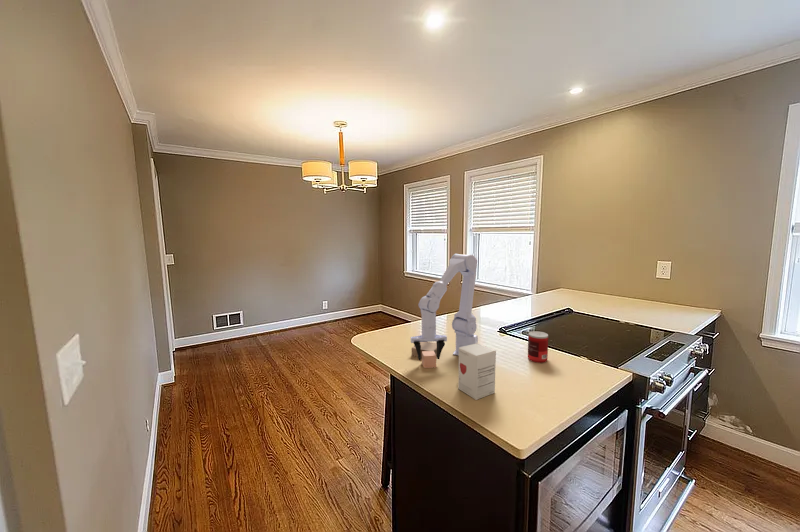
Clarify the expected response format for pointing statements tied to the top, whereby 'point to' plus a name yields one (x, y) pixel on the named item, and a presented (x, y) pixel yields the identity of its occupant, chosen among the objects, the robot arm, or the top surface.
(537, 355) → the canned food
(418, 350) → the robot arm
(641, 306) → the top surface
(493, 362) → the supplement box
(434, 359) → the terracotta cube
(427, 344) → the walnut block
